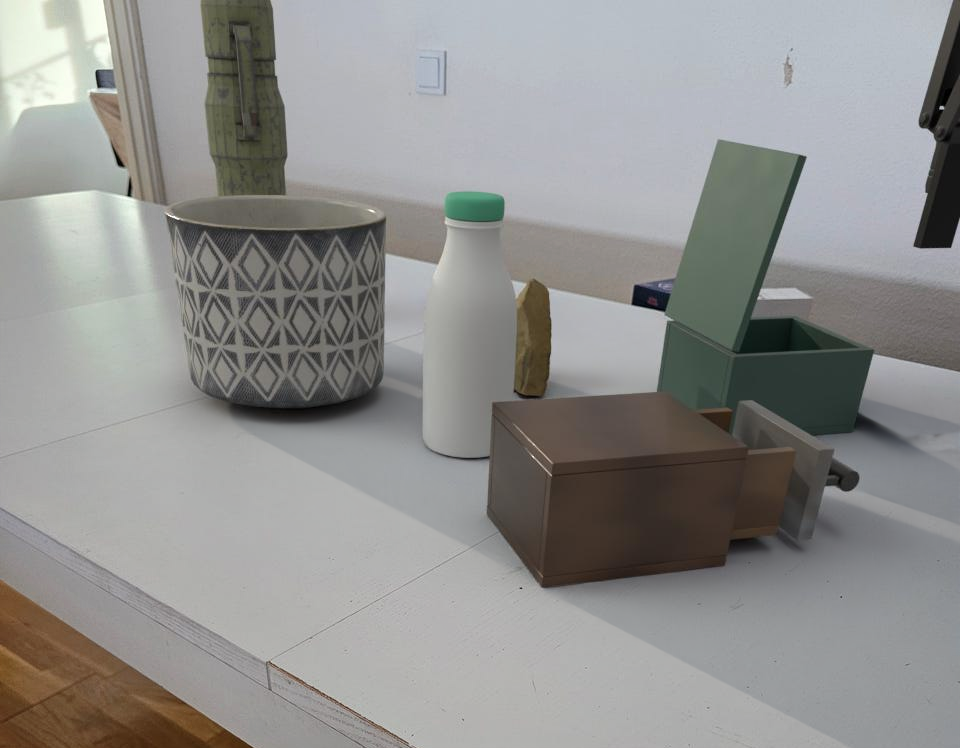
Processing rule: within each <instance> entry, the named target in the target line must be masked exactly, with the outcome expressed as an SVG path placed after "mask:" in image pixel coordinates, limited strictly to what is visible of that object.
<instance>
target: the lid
mask: <svg viewBox="0 0 960 748" xmlns="http://www.w3.org/2000/svg"><path fill="white" fill-rule="evenodd" d="M713 150H714V151H713V154H712V156H711V160H710V164H709V167H708V171H707V173H706V177H705V180H704V184H703V186H702V190H701V193H700V197H699V200H698V203H697V206H696V210H695V213H694V217H693V220H692V222H691V226H690V229H689V232H688V235H687V239H686V243H685V246H684V248H683V253H682V256H681V258H680V263H679V266H678V269H677V272H676V275H675V278H674V282H673V285H672V288H671V292H670V295H669V299H668V302H667V304H666V308H665V312H664V316H665V317H667V318H669V319H671V320H672V321H674V320H675V321H676V322H678V323H680V324H682V325H684V326H686V327H688V328H690V329H691V330H693V331H695V332H697V333H699V334H701V335H703V336H705V337H707V338H708V339H710V340H712V341H714V342H716V343H718V344H720V345H722V346H724V347H725V348H727V349H729V350H731V351H735V352H739V350H740V347H741V345H742V342H743V339H744V336H745V333H746V330H747V327H748V325H749V322H750V319H751V317H753V313H754V310H755V307H756V305H757V301H758V299H759V296H760V293H761V290H762V287H763V284H764V282H765V278H766V276H767V274H768V273H767V272H768V270H769V267H770V264H771V261H772V258H773V255H774V252H775V250H776V247H777V244H778V241H779V239H780V236H781V233H782V229H783V227H784V224H785V221H786V219H787V215H788V212H789V210H790V207H791V204H792V201H793V199H794V195H795V192H796V190H797V186H798V183H799V181H800V178H801V175H802V174H803V173H802V172H803V169H804V166H805V163H806V161H807V155H803V154H799V153H794V152H788V151H784V150H778V149H774V148H773V149H771V148H767V147H761V146H755V145H750V144H746V143H742V142H741V143H740V142H735V141H731V140H730V141H729V140H724V139H720V138H719V139H717V140H716V144H715V148H714V149H713Z"/></svg>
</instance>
